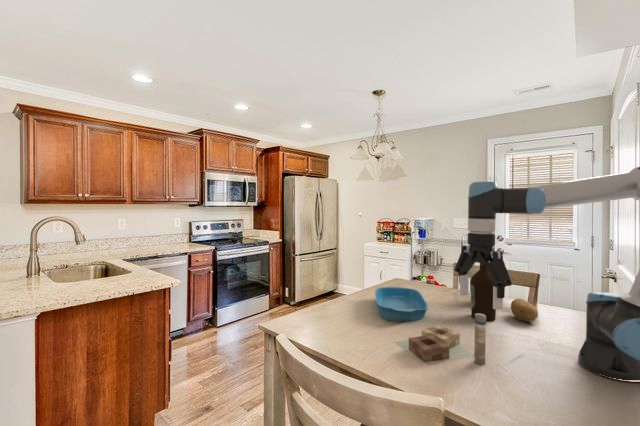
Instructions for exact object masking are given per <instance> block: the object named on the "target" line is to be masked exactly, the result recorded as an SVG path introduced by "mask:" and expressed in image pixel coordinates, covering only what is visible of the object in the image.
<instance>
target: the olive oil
mask: <svg viewBox="0 0 640 426" xmlns="http://www.w3.org/2000/svg"><path fill="white" fill-rule="evenodd" d="M469 282H470V283H469V284H470V302H471V303H470V308H471V314H470V315H471V317H472V318H473V319H475V314H477V313H480V314H484V315H486V322H495V320H496V317H497V313H496V312H497V309H493V286H495V285H496V284H495V283H494V281H493V279H492V277H491V275H490V273H489V272H488V270H487V268H486V267H485V266H484V265H483V264H480V263H479V270H477V272H476V273H474V274H473V275H472V276H471V278H470V281H469Z"/></svg>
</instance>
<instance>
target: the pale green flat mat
mask: <svg viewBox="0 0 640 426" xmlns="http://www.w3.org/2000/svg"><path fill="white" fill-rule="evenodd" d="M395 343H396V344H397V346H398V347H400V348H401V349H403V350H404V351H405V352H406V353H407V354H408V355H410V356H411V357H412V358H413V359H414V360H416V362H418V363H419V365H425V364H431V363H437V362H443V361H444V362H445V361H450V360H456V359H457V360H458V359H464V358H470V357H474V354H473V353H472V352H470V351H469V350H467V349H465V348H464V347H462V346H461V345H460V344H459V345H457V346H455V347H453V348H451V349H449V359H445V360H438V361H432V362H425V363H424V362H423V361H422V360H421V359H419V358H418V357H417V356H416V355H415V354H413V353H412V352H411V351H410V350H409V339H408V340H401V341H400V340H399V341H395Z"/></svg>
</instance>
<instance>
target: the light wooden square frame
mask: <svg viewBox="0 0 640 426" xmlns="http://www.w3.org/2000/svg"><path fill="white" fill-rule="evenodd" d="M427 335H433V336H435V337H436V338H438V339H439V340H441V341H442V342H444V343H445V344H447V345H448V346H449V349H451V348H453V347H455V346H457V345H459V346H460V345H461V344H460V340H461V339H460V336H461V335H460V332H458V331H455V330H452V329H449V328H447V327H444V326H440V325H438V324H436V325H433V326H430V327H428V328H425V329H421V336H427Z"/></svg>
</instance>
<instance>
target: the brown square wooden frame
mask: <svg viewBox="0 0 640 426" xmlns="http://www.w3.org/2000/svg"><path fill="white" fill-rule="evenodd" d="M408 340H409V350H410V351H411V352H412V353H413V354H415V355H416V356H417V357H418V358H419V359H421V360H422V361H423V362H424V363H425V362H432V361H438V360H445V359H449V346H448V345H447V344H445V343H444V342H442V341H441V340H439V339H438V338H436V337H435V336H433V335H427V336H422V335H421V336H414V337H413V336H412V337H409V338H408ZM445 361H446V360H445ZM432 363H433V362H432Z"/></svg>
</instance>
